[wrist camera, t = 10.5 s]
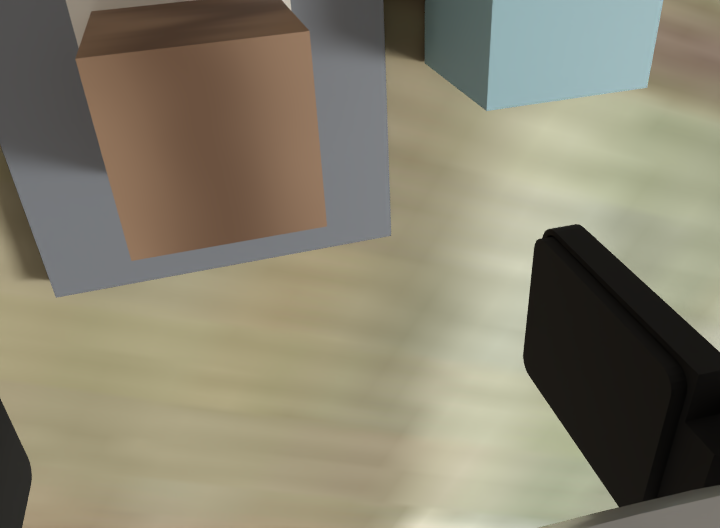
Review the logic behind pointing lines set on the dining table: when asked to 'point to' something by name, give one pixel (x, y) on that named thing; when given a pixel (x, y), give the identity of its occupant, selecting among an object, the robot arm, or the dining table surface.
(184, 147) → the walnut block
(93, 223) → the grey flat slab
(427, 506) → the dining table surface
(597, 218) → the dining table surface
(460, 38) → the teal block
